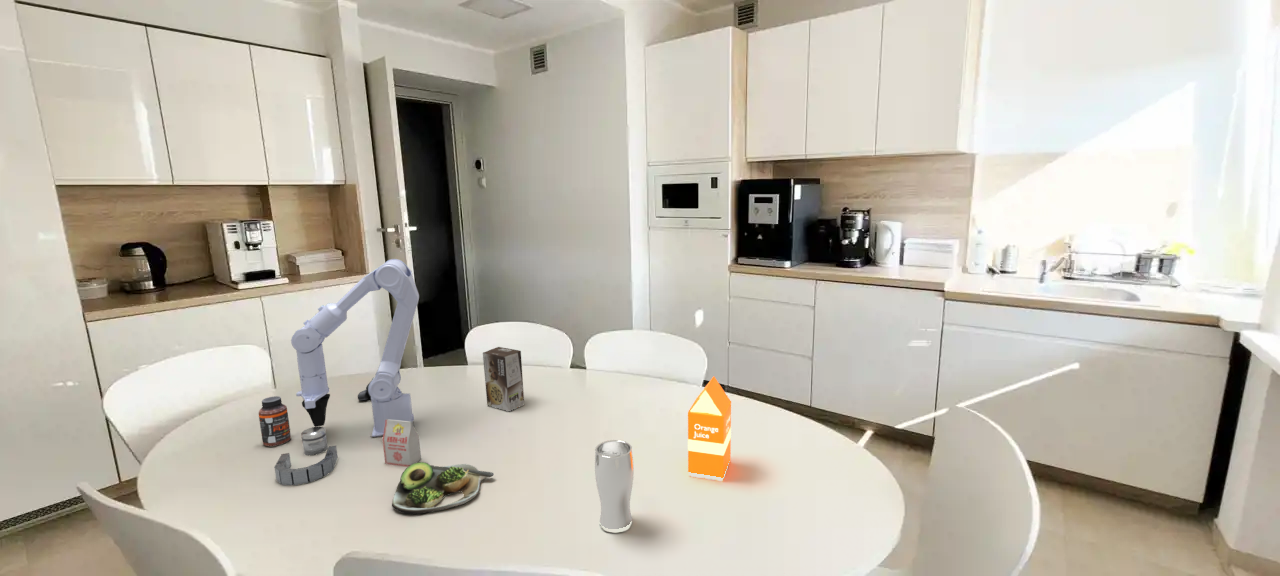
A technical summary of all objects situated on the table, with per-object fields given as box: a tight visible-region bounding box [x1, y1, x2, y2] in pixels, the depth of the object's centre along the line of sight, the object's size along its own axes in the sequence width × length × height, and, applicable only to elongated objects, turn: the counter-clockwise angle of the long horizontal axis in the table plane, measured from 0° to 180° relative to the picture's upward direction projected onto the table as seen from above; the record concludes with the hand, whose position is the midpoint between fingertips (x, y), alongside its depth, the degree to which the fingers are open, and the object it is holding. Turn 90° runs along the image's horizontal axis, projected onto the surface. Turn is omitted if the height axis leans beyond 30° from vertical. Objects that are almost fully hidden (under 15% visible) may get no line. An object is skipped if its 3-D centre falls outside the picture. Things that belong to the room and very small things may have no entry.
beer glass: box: [594, 439, 634, 529], centre depth 101 cm, size 7×7×15 cm
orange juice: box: [687, 376, 732, 478], centre depth 119 cm, size 8×9×20 cm
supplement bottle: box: [258, 395, 292, 447], centre depth 137 cm, size 6×6×11 cm
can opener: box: [357, 376, 375, 401], centre depth 170 cm, size 18×7×6 cm, turn 6°
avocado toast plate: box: [391, 461, 494, 515], centre depth 115 cm, size 19×18×5 cm
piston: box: [300, 426, 329, 456], centre depth 133 cm, size 5×5×5 cm
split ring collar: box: [274, 445, 339, 486], centre depth 123 cm, size 11×10×3 cm
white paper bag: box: [382, 419, 422, 467], centre depth 126 cm, size 4×7×10 cm, turn 75°
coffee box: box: [482, 346, 525, 412], centre depth 157 cm, size 9×6×16 cm
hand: (319, 425), depth 140 cm, fingers closed
